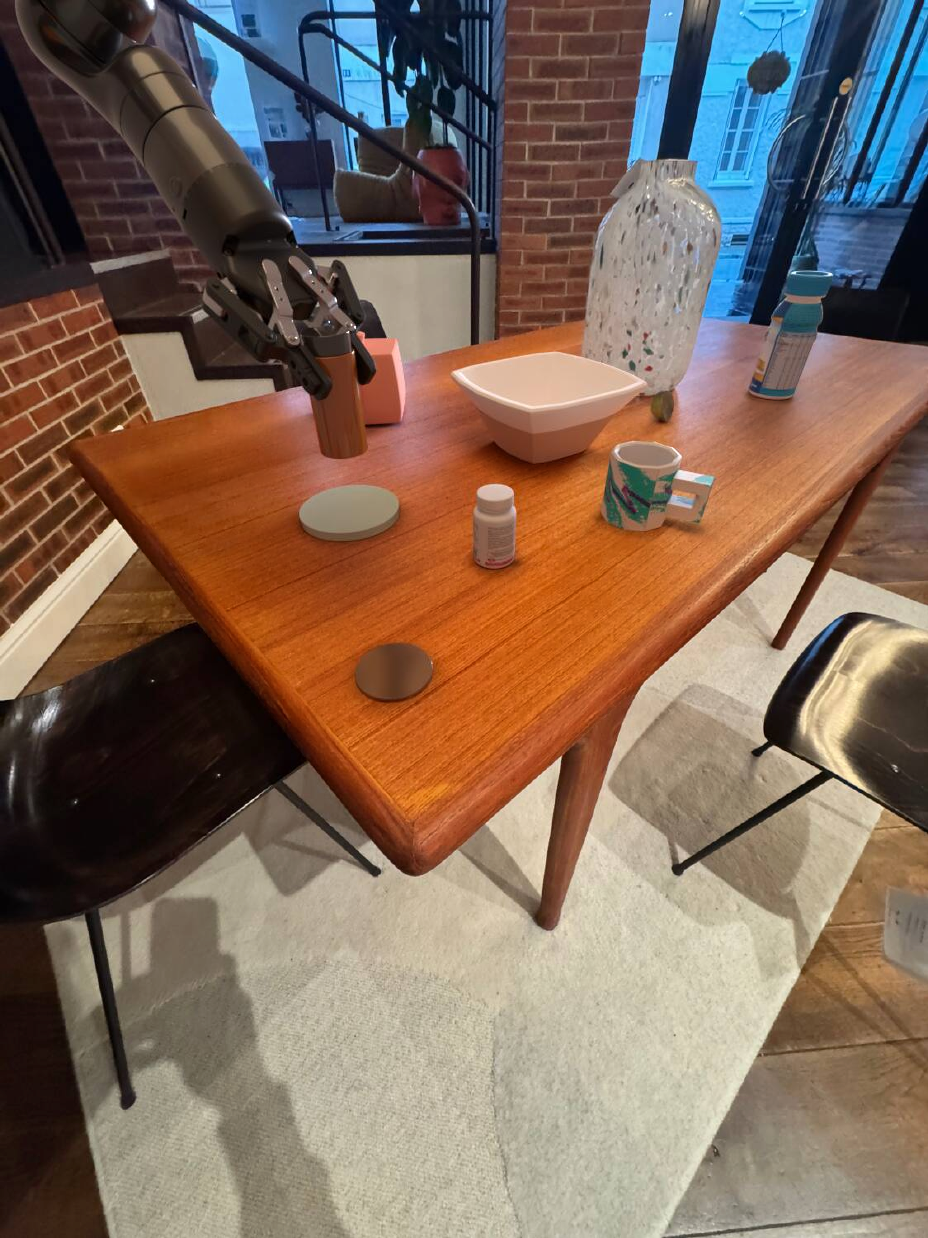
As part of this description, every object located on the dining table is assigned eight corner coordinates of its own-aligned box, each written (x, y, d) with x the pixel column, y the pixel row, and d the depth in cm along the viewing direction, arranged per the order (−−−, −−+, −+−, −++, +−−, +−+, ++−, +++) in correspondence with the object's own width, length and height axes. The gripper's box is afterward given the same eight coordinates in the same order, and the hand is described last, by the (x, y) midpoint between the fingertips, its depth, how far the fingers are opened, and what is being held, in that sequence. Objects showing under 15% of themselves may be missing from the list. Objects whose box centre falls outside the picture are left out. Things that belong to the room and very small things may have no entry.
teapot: (408, 395, 106) (402, 317, 97) (402, 436, 90) (393, 347, 81) (311, 398, 106) (295, 320, 97) (286, 439, 89) (264, 351, 80)
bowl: (648, 452, 83) (663, 382, 76) (521, 491, 73) (525, 415, 66) (554, 409, 98) (559, 347, 91) (439, 437, 89) (436, 371, 82)
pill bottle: (521, 554, 61) (525, 488, 56) (501, 574, 58) (504, 506, 53) (486, 543, 63) (487, 478, 58) (465, 562, 60) (464, 495, 55)
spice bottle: (325, 462, 47) (301, 339, 40) (316, 445, 50) (293, 328, 44) (373, 454, 48) (357, 333, 42) (361, 437, 51) (345, 322, 45)
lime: (670, 414, 95) (677, 385, 92) (675, 424, 92) (683, 394, 88) (645, 414, 96) (651, 385, 92) (649, 423, 92) (656, 394, 89)
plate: (310, 550, 63) (308, 542, 62) (293, 503, 72) (291, 495, 71) (412, 527, 66) (412, 519, 66) (384, 485, 76) (383, 477, 75)
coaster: (366, 712, 44) (365, 709, 44) (347, 658, 49) (346, 655, 48) (444, 687, 46) (443, 684, 45) (418, 637, 51) (418, 634, 50)
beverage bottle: (775, 403, 98) (820, 278, 85) (737, 391, 104) (774, 272, 91) (803, 395, 101) (851, 273, 88) (765, 384, 107) (804, 268, 94)
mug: (613, 495, 72) (624, 435, 67) (704, 515, 67) (723, 453, 62) (593, 522, 67) (603, 459, 61) (690, 546, 62) (710, 480, 57)
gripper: (281, 235, 49) (387, 391, 51) (132, 250, 41) (267, 436, 43) (305, 159, 43) (425, 339, 46) (137, 157, 35) (294, 378, 37)
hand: (347, 385), depth 44 cm, fingers closed on spice bottle, 4 cm apart
